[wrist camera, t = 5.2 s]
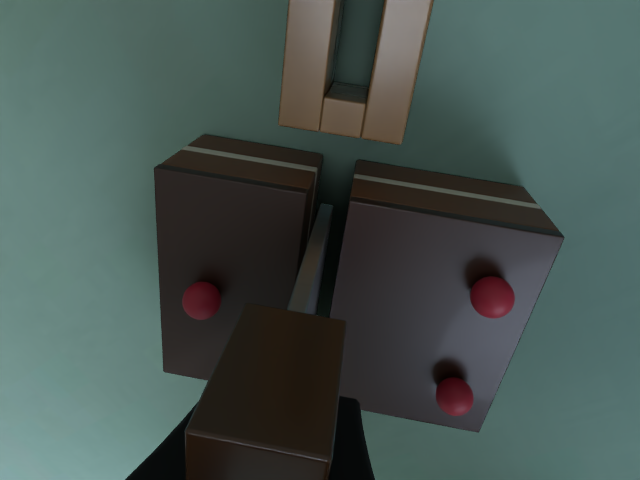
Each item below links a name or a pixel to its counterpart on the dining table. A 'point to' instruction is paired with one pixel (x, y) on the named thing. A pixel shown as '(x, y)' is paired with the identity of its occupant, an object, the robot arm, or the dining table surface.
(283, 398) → the cake cutter
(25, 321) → the dining table surface
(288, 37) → the knife block
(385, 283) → the chocolate cake
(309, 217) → the cake slice
